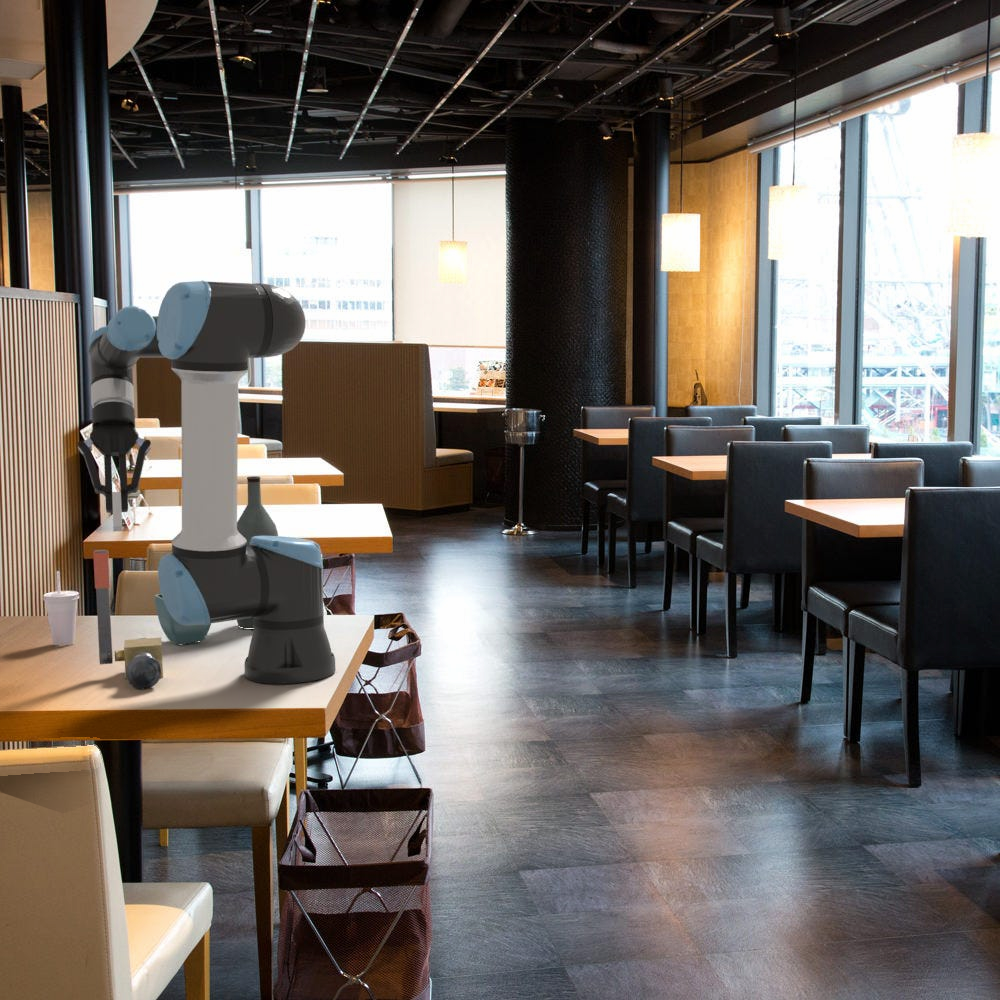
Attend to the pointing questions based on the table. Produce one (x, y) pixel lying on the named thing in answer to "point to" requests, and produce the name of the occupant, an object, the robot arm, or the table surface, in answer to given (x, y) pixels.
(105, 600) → the lever
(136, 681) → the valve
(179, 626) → the flower pot
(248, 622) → the bottle
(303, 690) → the table surface
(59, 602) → the smoothie
